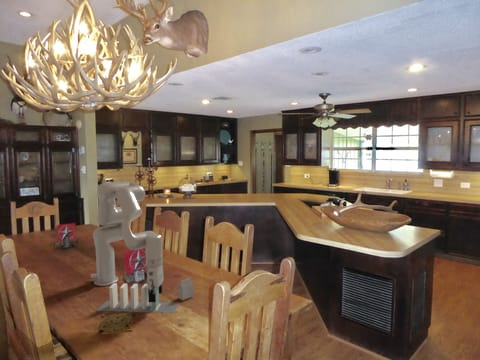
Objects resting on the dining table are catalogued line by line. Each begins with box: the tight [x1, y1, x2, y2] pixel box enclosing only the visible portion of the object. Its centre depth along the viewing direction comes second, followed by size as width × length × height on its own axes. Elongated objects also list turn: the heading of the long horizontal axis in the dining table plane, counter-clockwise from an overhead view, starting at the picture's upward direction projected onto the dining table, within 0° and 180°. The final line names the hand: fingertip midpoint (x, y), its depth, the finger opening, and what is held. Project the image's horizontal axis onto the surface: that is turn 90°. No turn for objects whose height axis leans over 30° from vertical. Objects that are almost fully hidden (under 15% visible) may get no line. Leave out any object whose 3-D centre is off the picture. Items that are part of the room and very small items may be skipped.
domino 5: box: [151, 286, 160, 309], centre depth 154 cm, size 2×5×10 cm, turn 176°
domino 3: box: [129, 283, 139, 309], centre depth 155 cm, size 2×5×10 cm, turn 176°
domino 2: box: [119, 282, 129, 309], centre depth 155 cm, size 2×5×10 cm, turn 176°
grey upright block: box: [177, 277, 195, 301], centre depth 165 cm, size 4×7×10 cm, turn 132°
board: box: [96, 300, 180, 314], centre depth 155 cm, size 36×10×1 cm, turn 86°
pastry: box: [98, 312, 137, 336], centre depth 141 cm, size 17×17×3 cm
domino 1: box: [108, 282, 119, 308], centre depth 156 cm, size 2×5×10 cm, turn 176°
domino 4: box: [140, 283, 149, 309], centre depth 155 cm, size 2×5×10 cm, turn 176°
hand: (155, 297), depth 154 cm, fingers open, 8 cm apart
